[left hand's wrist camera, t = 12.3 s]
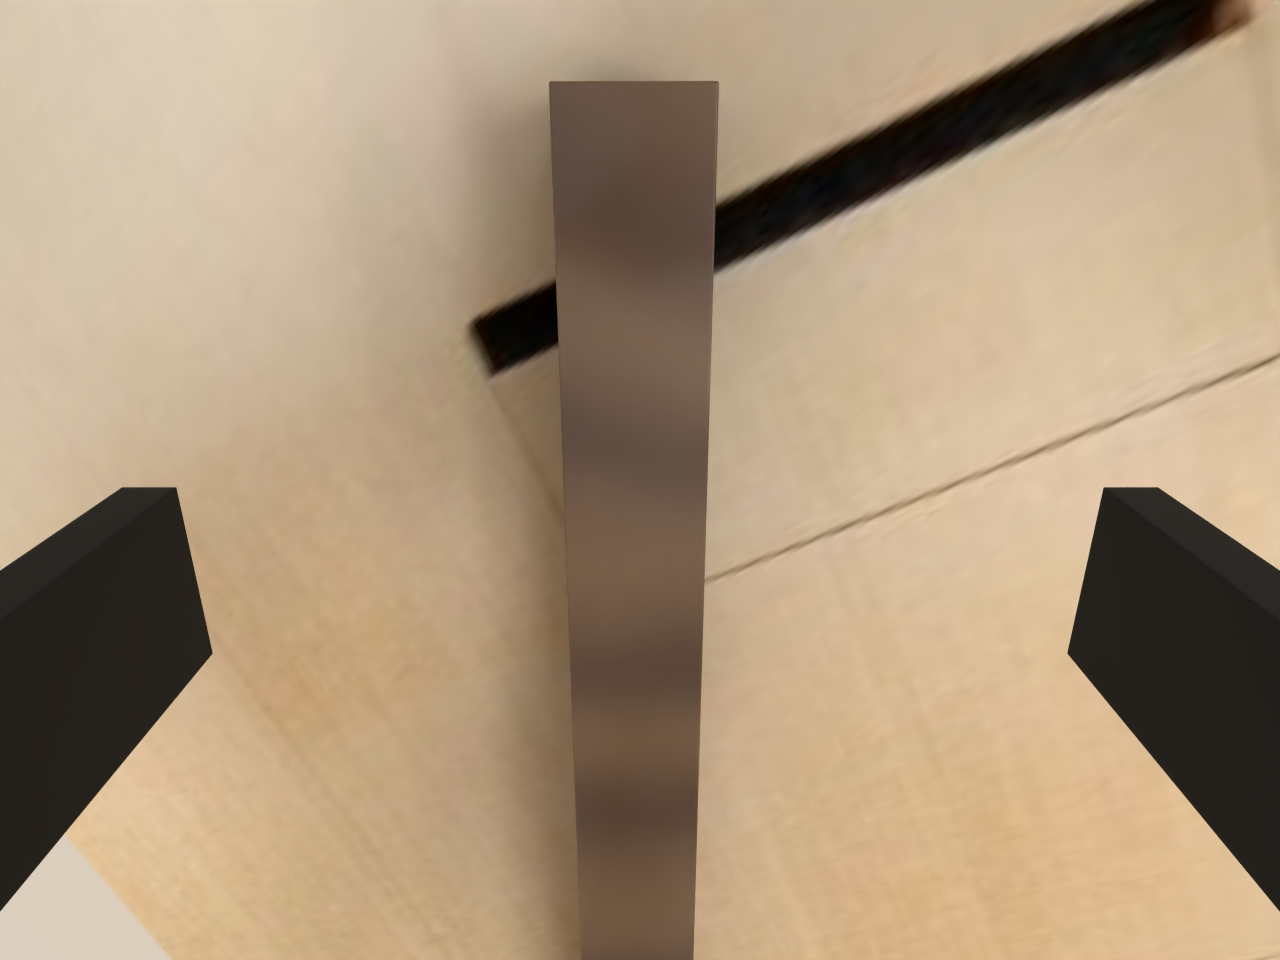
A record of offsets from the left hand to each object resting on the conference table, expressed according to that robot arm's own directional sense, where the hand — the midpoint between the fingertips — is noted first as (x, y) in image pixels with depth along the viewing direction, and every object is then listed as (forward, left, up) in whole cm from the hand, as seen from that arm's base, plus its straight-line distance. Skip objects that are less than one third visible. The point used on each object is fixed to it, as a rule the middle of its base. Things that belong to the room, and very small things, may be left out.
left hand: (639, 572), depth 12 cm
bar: (+29, +6, -25) cm, 39 cm away
